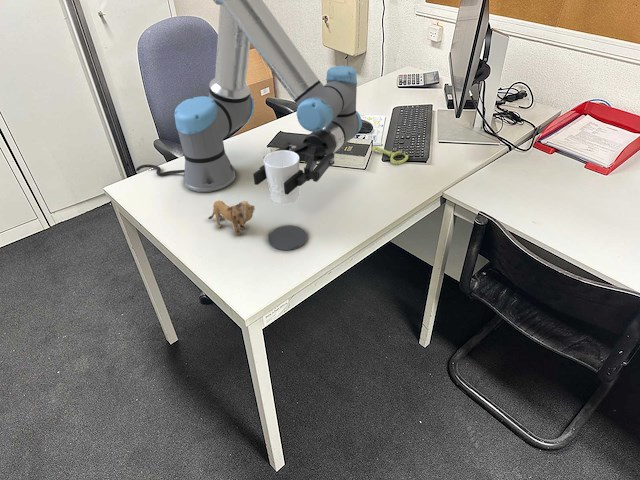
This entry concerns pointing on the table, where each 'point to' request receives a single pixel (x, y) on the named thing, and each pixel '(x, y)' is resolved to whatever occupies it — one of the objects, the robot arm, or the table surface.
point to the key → (391, 155)
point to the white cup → (281, 174)
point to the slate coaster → (287, 237)
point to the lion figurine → (233, 214)
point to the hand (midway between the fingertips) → (270, 184)
